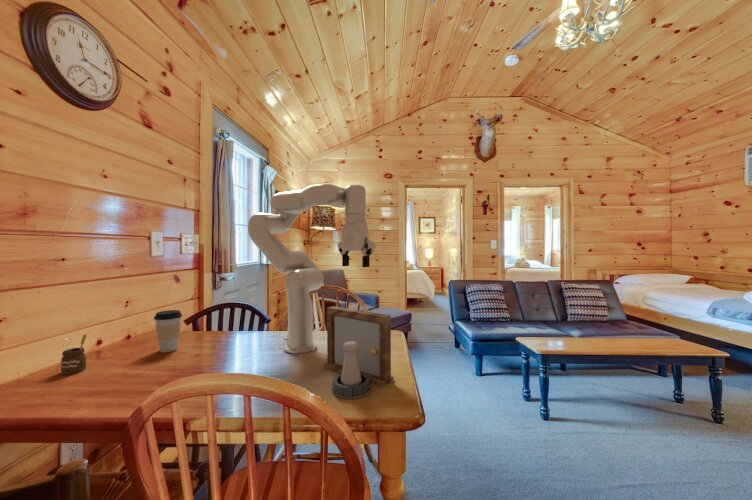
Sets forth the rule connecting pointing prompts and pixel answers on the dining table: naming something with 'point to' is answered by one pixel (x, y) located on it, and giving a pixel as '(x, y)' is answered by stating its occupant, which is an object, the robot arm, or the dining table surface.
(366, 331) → the door
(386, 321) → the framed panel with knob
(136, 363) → the dining table surface
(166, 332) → the coffee cup
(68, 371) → the utensil holder
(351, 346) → the salt shaker
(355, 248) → the robot arm
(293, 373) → the dining table surface
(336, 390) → the socket
